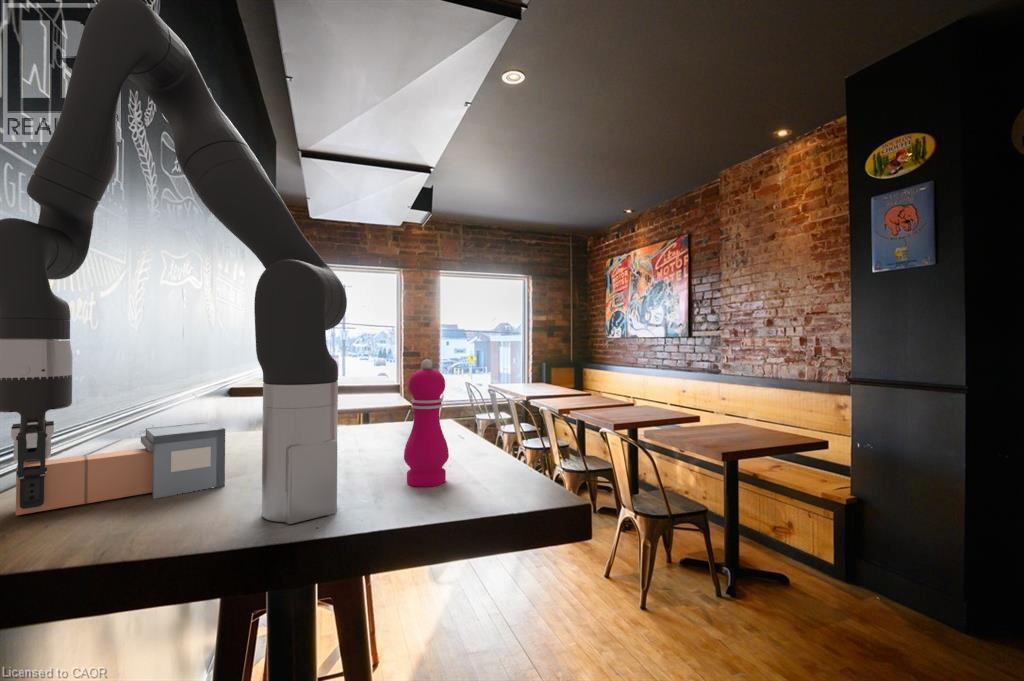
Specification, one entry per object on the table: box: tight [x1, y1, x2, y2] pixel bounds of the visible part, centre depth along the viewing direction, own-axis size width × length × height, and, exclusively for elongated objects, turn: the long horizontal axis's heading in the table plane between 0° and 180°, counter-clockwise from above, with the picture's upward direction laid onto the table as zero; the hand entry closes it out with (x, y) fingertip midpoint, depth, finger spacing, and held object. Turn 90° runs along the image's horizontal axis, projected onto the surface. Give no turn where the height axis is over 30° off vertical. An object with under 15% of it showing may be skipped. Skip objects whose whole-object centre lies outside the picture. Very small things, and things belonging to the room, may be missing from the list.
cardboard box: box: [15, 447, 153, 516], centre depth 68 cm, size 4×15×6 cm, turn 134°
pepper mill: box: [403, 358, 450, 488], centre depth 78 cm, size 7×7×20 cm
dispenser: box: [140, 421, 226, 499], centre depth 75 cm, size 9×10×9 cm
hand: (32, 501), depth 63 cm, fingers open, 4 cm apart
